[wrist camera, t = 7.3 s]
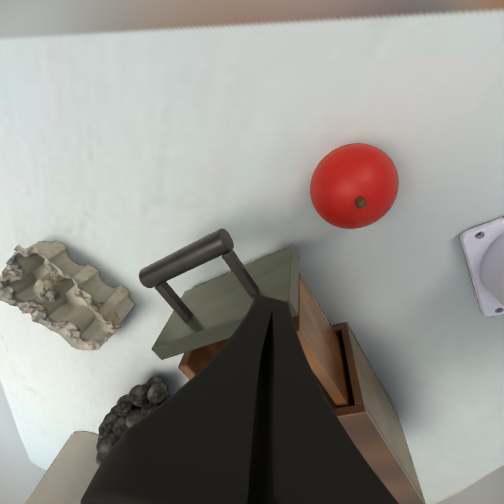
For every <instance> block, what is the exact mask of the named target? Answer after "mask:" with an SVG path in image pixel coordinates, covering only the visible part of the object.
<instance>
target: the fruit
mask: <svg viewBox="0 0 504 504" xmlns="http://www.w3.org/2000/svg"><path fill="white" fill-rule="evenodd" d="M169 397H170V396H169V395H168V394H167V387H166V385H165V384H164V382H163V379H161V378H160V377H152V378H151V379H150V380H149V381H148V384H147V386H146V387H145V386H143V385H137V386H135V387H133V388H132V389H131V391H130V393H129V395H127V394H126V395H124V396H122V397H120V399H119V400H118V402H117V405H115V406H114V407H113V408H111V411H110V413H108V414H107V415H106V416H105V418H104V420H103V423H101V425H100V427H99V436H98V443H97V445H96V449H97V452H98V453H97V455H96V463H97V464H98V465H99V466H100V465H101V463H102V462H103V460H104V459H105V457H106V456H107V454H108V453H109V452H110V450H111V449H112V448H113V446H114V445H115V444H116V443H117V441H118V440H119V439H120V438H121V436H122V435H123V434H124V433H125V432H126V430H127V429H128V428H130V427H131V426H132V425H134V424H135V423H137V422H138V421H139V420H141V419H142V418H143V417H145V416H146V415H147V414H149V413H150V412H152V411H153V410H154V409H156V408H157V407H158V406H160V405H161V404H162V403H163V402H165V401H166V400H167V399H168V398H169Z"/></svg>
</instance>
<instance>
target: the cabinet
mask: <svg viewBox="0 0 504 504" xmlns="http://www.w3.org/2000/svg"><path fill="white" fill-rule="evenodd" d="M332 328H333V330H334V332H335V333H336V335H337V337H338V338H339V340H340V342H341V344H342V345H343V347H344V349H345V353H346V358H347V364H348V369H349V375H350V381H351V386H352V392H353V397H354V403H355V405H353V406H348V407H342V408H336V409H333V411H334V413H335V414H336V416H337V417H338V419H339V421H340V422H341V424H342V425H343V427H344V428H345V430H346V432H347V433H348V435H349V436H350V438H351V439H352V441H353V443H354V444H355V445H356V447H357V448H358V450H359V451H360V453H361V454H362V455H363V457H364V458H365V460H366V461H367V463H368V464H369V465H370V467H371V468H372V470H373V471H374V472H375V473H376V475H377V476H378V477H379V479H380V480H381V481H382V482H383V484H384V485H385V486H386V488H387V489H388V490H389V491H390V493H391V494H392V495H393V497H394V498H395V499H396V500H397V502H398V503H399V504H426V503H425V500H424V497H423V494H422V490H421V487H420V484H419V481H418V478H417V474H416V471H415V468H414V465H413V461H412V458H411V455H410V452H409V448H408V445H407V442H406V439H405V436H404V432H403V429H402V426H401V423H400V419H399V416H398V413H397V411H396V410H395V408H394V406H393V404H392V403H391V401H390V399H389V397H388V395H387V394H386V392H385V390H384V388H383V386H382V385H381V383H380V381H379V379H378V377H377V376H376V374H375V372H374V370H373V368H372V367H371V365H370V363H369V361H368V359H367V358H366V356H365V354H364V352H363V351H362V349H361V347H360V345H359V343H358V342H357V340H356V338H355V336H354V334H353V333H352V331H351V329H350V327H349V325H348V324H347V322H345V323H342V324H339V325H335V326H332Z"/></svg>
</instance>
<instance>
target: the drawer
mask: <svg viewBox="0 0 504 504" xmlns="http://www.w3.org/2000/svg"><path fill="white" fill-rule="evenodd" d="M232 249H233V241H232V238H231V236H230V234H229V233H228V232H227V231H226V230H225V229H223V228H222V229H219V230H217V231H215V232H213V233H211V234H209V235H207V236H205V237H203V238H201V239H199V240H198V241H196V242H194V243H192V244H190V245H188V246H186V247H184V248H182V249H180V250H178V251H176V252H174V253H172V254H170V255H168V256H167V257H165V258H163V259H161V260H159V261H157V262H155V263H153V264H151V265H149V266H147V267H145V268H143V269H142V270H141V271H140V273H139V279H140V281H141V283H142V284H143V285H144V286H145V287H147V288H153V287H155V286H156V287H155V289H156V290H157V291H158V292H159V293H160V294H161V296H162V297H163V298H164V299H165V300H166V301H167V303H168V304H169V305H170V306H171V307H172V308H173V309H174V311H173V313H172V315H171V316H170V318H169V320H168V322H167V323H166V325H165V327H164V328H163V330H162V332H161V333H160V335H159V337H158V339H157V340H156V342H155V344H154V345H153V347H152V350H153V351H154V352H155V353H156V355H157V356H158V357H159V358H160V359H161V360H163V359H166V358H169V357H173V356H176V355H179V354H182V353H184V355H183V357H182V359H181V362H180V364H179V366H178V368H179V369H180V370H181V371H182V372H183V373H184V374H185V375H186V376H187V377H188V378H189V379H190V380H191V379H192V378H193V377H194V376H195V375H196V374H197V373H198V372H199V371H200V370H201V369H202V368H203V367H204V366H205V365H206V364H207V363H208V362H209V361H210V360H211V359H212V358H213V357H214V356H215V355H216V354H217V352H218V351H219V350H220V349H221V348H222V347H223V346H224V344H225V343H226V342H227V341H228V339H229V338H230V337H231V336H232V334H233V333H234V332H235V330H236V329H237V328H238V326H239V325H240V323H241V322H242V320H243V319H244V317H245V316H246V314H247V312H248V311H249V309H250V307H251V305H252V303H253V300H254V297H255V296H256V295H262V296H266V297H270V298H274V299H278V300H282V301H286V302H288V303H289V305H290V310H291V314H292V318H293V321H294V325H295V328H296V331H297V334H298V337H299V340H300V342H301V345H302V348H303V350H304V353H305V355H306V358H307V360H308V362H309V365H310V367H311V369H312V371H313V373H314V376H315V378H316V380H317V382H318V384H319V386H320V387H321V389H322V391H323V393H324V395H325V397H326V399H327V400H328V402H329V404H330V406H331V407H332V409H336V408H342V407H348V406H353V405H355V403H354V397H353V392H352V386H351V381H350V375H349V369H348V364H347V358H346V353H345V349H344V347H343V345H342V344H341V342H340V340H339V338H338V337H337V335H336V333H335V332H334V330H333V328H332V327H331V325H330V323H329V322H328V320H327V318H326V316H325V315H324V313H323V311H322V310H321V308H320V306H319V305H318V303H317V301H316V300H315V298H314V296H313V295H312V293H311V291H310V289H309V288H308V286H307V284H306V283H305V281H304V279H303V278H302V276H301V274H300V273H299V257H298V255H297V253H296V252H295V250H294V248H293V246H292V245H291V246H289V247H286V248H284V249H282V250H280V251H277V252H275V253H273V254H270V255H268V256H266V257H264V258H261V259H259V260H257V261H254V262H252V263H250V264H247V265H245V266H243V264H242V263H241V261H240V260H239V258H238V257H237V255H236V254H235V252H234V251H233V250H232ZM221 255H222V257H223V259H224V260H225V262H226V263H227V264H228V266H229V267H230V269H231V270H232V271H231V272H229V273H227V274H225V275H222V276H220V277H218V278H215V279H213V280H211V281H208V282H206V283H204V284H202V285H199V286H197V287H195V288H192V289H190V290H188V291H185V293H184V294H183V296H182V298H181V299H180V298H179V296H178V295H177V294H176V293H175V292H174V290H173V289H172V288H171V287H170V286H169V285H168V283H167V282H166V281H168V280H170V279H172V278H174V277H176V276H178V275H180V274H182V273H185V272H187V271H189V270H191V269H193V268H195V267H197V266H199V265H202V264H204V263H206V262H208V261H210V260H212V259H214V258H216V257H219V256H221Z"/></svg>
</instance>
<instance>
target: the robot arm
mask: <svg viewBox="0 0 504 504" xmlns="http://www.w3.org/2000/svg"><path fill="white" fill-rule="evenodd" d="M479 232H481V234H480V235H479V236H475V235H476V234H477V233H479ZM460 241H461V244H462V248H463V251H464V255H465V258H466V261H467V265H468V268H469V272H470V275H471V278H472V282H473V285H474V289H475V292H476V295H477V299H478V302H479V306H480V309H481V312H482V313H483V314H484V316H486V317H493V316H497V315H501V314H504V217H502V218H499V219H497V220H494V221H491V222H488V223H486V224H483V225H480V226H477V227H475V228H472V229H469V230H466V231H464V232H463V233H462V234H461V236H460ZM497 308H498V309H497ZM81 504H399V503H398V502H397V500H396V499H395V498H394V497H393V495H392V494H391V493H390V491H389V490H388V489H387V488H386V486H385V485H384V484H383V482H382V481H381V480H380V479H379V477H378V476H377V475H376V473H375V472H374V471H373V470H372V468H371V467H370V465H369V464H368V463H367V461H366V460H365V458H364V457H363V455H362V454H361V453H360V451H359V450H358V448H357V447H356V445H355V444H354V443H353V441H352V439H351V438H350V436H349V435H348V433H347V432H346V430H345V428H344V427H343V425H342V424H341V422H340V421H339V419H338V417H337V416H336V414H335V413H334V411H333V409H332V407H331V406H330V404H329V402H328V400H327V399H326V397H325V395H324V393H323V391H322V389H321V387H320V386H319V384H318V382H317V380H316V378H315V376H314V373H313V371H312V369H311V367H310V365H309V362H308V360H307V358H306V355H305V353H304V350H303V348H302V345H301V342H300V340H299V337H298V334H297V331H296V328H295V325H294V321H293V318H292V314H291V310H290V305H289V303H288V302H286V301H282V300H278V299H274V298H270V297H266V296H262V295H256V296H255V297H254V300H253V303H252V305H251V307H250V309H249V311H248V312H247V314H246V316H245V317H244V319H243V320H242V322H241V323H240V325H239V326H238V328H237V329H236V330H235V332H234V333H233V334H232V336H231V337H230V338H229V339H228V341H227V342H226V343H225V344H224V346H223V347H222V348H221V349H220V350H219V351H218V352H217V354H216V355H215V356H214V357H213V358H212V359H211V360H210V361H209V362H208V363H207V364H206V365H205V366H204V367H203V368H202V369H201V370H200V371H199V372H198V373H197V374H196V375H195V376H194V377H193V378H192V379H191V380H189V381H188V382H187V383H186V384H185V385H184V386H183V387H181V388H180V389H179V390H178V391H177V392H175V393H174V394H173V395H172V396H171V397H169V398H168V399H167V400H166V401H165V402H163V403H162V404H161V405H160V406H158V407H157V408H156V409H154V410H153V411H152V412H150V413H149V414H147V415H146V416H145V417H143V418H142V419H141V420H139V421H138V422H137V423H135V424H134V425H132V426H131V427H130V428H128V429H127V430H126V432H125V433H124V434H123V435H122V436H121V438H120V439H119V440H118V441H117V443H116V444H115V445H114V446H113V448H112V449H111V450H110V452H109V453H108V454H107V456H106V457H105V459H104V460H103V462H102V463H101V465H100V466H99V468H98V469H97V471H96V473H95V475H94V476H93V478H92V480H91V482H90V484H89V486H88V488H87V489H86V491H85V493H84V495H83V497H82V499H81Z"/></svg>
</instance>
